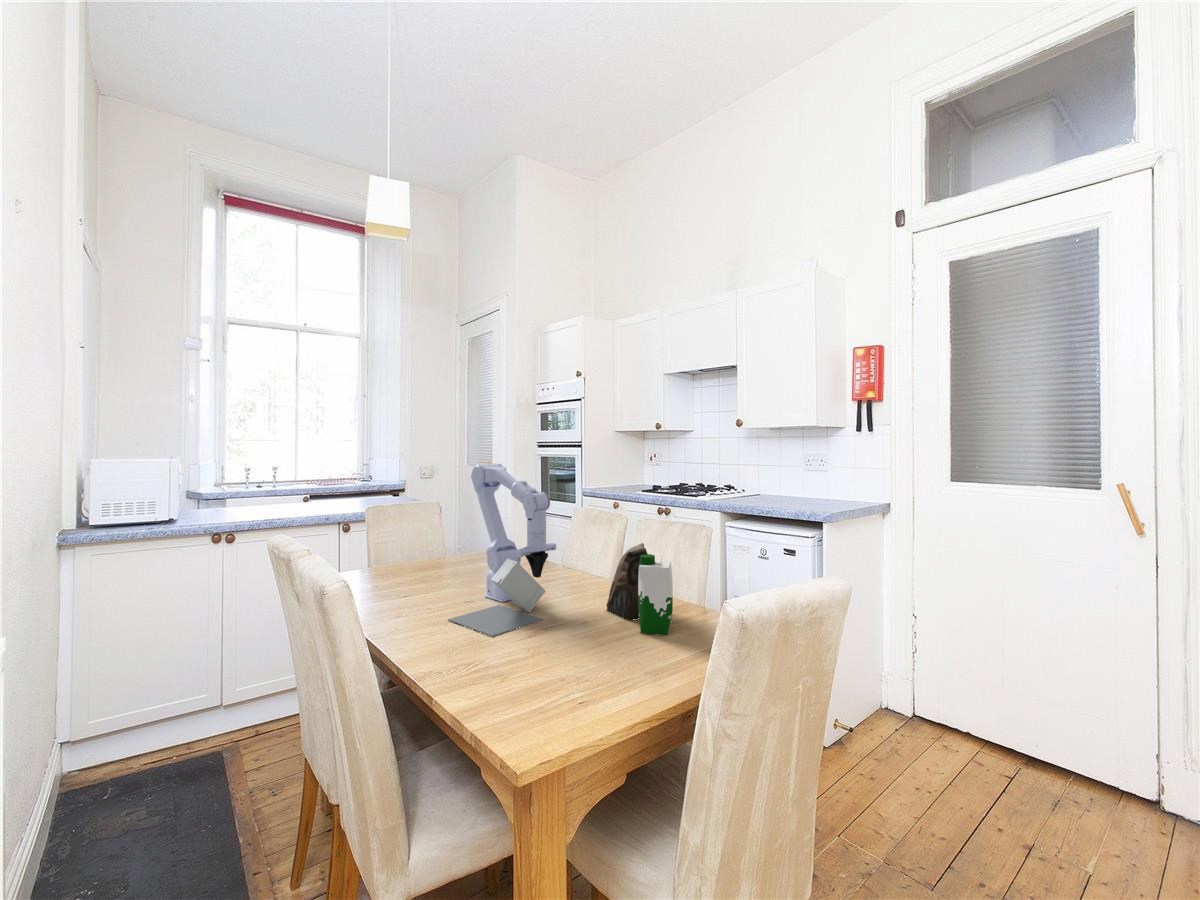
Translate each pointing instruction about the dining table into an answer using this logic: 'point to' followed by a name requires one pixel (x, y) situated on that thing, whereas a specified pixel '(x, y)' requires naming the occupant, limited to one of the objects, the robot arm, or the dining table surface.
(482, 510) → the robot arm
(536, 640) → the dining table surface
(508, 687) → the dining table surface
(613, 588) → the owl
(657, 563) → the milk carton
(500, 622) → the mat
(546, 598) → the dining table surface
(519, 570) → the skincare box
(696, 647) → the dining table surface
